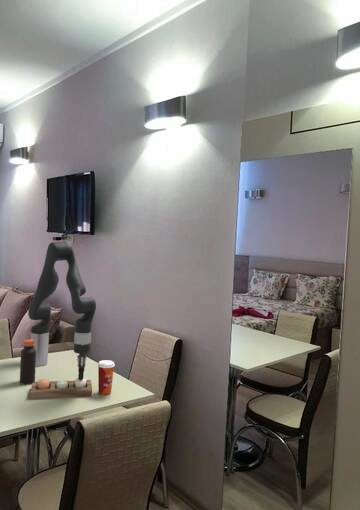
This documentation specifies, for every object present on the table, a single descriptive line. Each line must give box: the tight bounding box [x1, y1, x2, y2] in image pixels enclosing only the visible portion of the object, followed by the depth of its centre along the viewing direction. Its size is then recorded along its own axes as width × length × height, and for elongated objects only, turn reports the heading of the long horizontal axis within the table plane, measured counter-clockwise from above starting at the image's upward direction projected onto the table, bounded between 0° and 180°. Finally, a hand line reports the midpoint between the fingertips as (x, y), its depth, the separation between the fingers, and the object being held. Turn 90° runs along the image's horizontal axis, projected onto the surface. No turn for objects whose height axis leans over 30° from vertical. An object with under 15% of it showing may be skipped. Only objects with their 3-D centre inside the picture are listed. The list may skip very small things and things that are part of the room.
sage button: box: [56, 380, 68, 389], centre depth 183 cm, size 5×5×4 cm
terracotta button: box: [37, 378, 50, 389], centre depth 181 cm, size 5×5×4 cm
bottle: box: [19, 338, 37, 385], centre depth 192 cm, size 7×7×20 cm
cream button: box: [74, 377, 87, 388], centre depth 185 cm, size 5×5×4 cm
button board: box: [29, 379, 93, 400], centre depth 183 cm, size 12×26×3 cm, turn 105°
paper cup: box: [97, 359, 116, 396], centre depth 186 cm, size 8×8×14 cm
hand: (80, 379), depth 185 cm, fingers closed
